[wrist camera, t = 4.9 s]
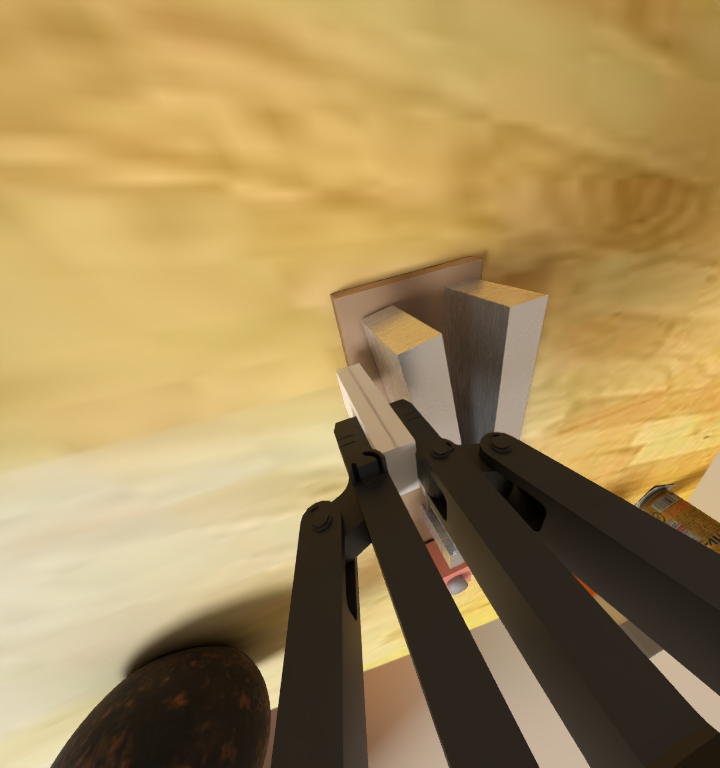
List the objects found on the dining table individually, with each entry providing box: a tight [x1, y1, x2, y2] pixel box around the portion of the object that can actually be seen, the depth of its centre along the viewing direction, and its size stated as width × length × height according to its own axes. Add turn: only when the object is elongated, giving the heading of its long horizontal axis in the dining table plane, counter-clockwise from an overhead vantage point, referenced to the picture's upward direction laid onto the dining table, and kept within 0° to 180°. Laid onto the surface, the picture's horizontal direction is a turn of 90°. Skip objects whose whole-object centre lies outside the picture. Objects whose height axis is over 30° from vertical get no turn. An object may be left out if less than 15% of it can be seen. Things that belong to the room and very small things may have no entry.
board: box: [330, 257, 483, 544], centre depth 24 cm, size 9×33×1 cm, turn 11°
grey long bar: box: [421, 278, 549, 569], centre depth 19 cm, size 5×23×5 cm, turn 11°
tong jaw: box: [360, 305, 465, 562], centre depth 18 cm, size 2×20×6 cm, turn 20°
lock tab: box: [425, 540, 471, 595], centre depth 29 cm, size 4×4×4 cm
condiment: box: [635, 485, 720, 554], centre depth 47 cm, size 7×8×12 cm
